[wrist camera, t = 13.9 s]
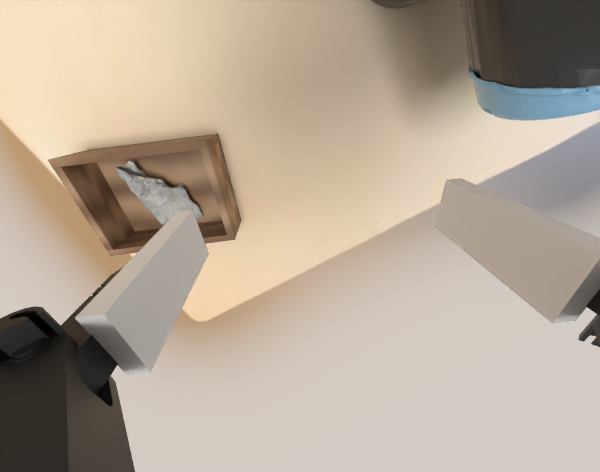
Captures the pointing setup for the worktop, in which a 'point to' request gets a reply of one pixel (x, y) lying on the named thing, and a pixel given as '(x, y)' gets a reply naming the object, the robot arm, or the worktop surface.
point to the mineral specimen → (157, 193)
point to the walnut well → (156, 164)
